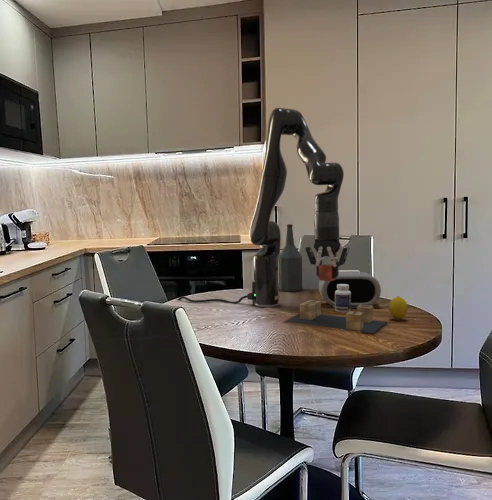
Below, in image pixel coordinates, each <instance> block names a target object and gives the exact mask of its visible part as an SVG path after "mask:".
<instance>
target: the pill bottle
mask: <svg viewBox="0 0 492 500" xmlns="http://www.w3.org/2000/svg"><path fill="white" fill-rule="evenodd" d="M337 289H338V290H336V291H335V308H334V311H335V312H339V313H345V314H346V313H348V312H350V311H352V308H351V292H350V291H349V290H348V289H349V285H347V284H337Z"/></svg>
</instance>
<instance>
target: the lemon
mask: <svg viewBox="0 0 492 500" xmlns="http://www.w3.org/2000/svg"><path fill="white" fill-rule="evenodd" d="M408 310H409V309H408V304H407V301H406V300H405V299H404V298H402V297H400V296H396V297H393V298H391V300H390V301H389V303H388V312H389V314H390V315H391V317H393V318H395V320H397V321H399V320H401V319H402V318H405V317H406V315H407V314H408Z"/></svg>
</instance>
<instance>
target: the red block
mask: <svg viewBox="0 0 492 500" xmlns="http://www.w3.org/2000/svg"><path fill="white" fill-rule="evenodd" d="M332 267H333V265H332V263H322V264H321V265H319V278H318V281H333V280H335V279H336V278H335V279H333V278H332Z"/></svg>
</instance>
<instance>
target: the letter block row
mask: <svg viewBox="0 0 492 500" xmlns="http://www.w3.org/2000/svg"><path fill="white" fill-rule="evenodd" d="M345 317H346V329H349V330H348V331H351V330H356V331H355V332H359V331H360V330H361V329H363V322H364V323H371V322H372V321H373V320H374V305H371V306H369V305H359V306H358V307H357V308H356V311H354V310H351V311H350V312H346V313H345Z"/></svg>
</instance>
